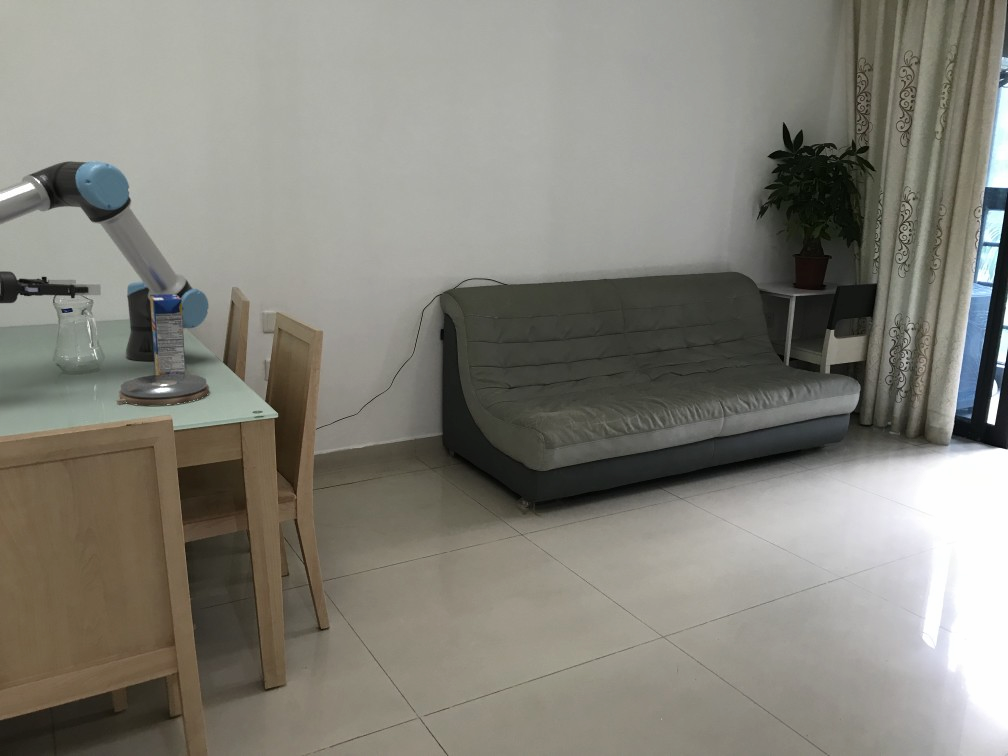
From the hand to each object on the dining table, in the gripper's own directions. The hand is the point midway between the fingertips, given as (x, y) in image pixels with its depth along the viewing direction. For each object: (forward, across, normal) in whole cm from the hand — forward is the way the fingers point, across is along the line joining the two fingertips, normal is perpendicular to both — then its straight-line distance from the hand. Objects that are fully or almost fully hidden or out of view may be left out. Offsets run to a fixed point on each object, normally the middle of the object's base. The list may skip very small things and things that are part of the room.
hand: (87, 287), depth 207 cm
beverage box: (+21, +2, -25) cm, 33 cm away
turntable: (+9, +21, -24) cm, 33 cm away
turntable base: (+10, +21, -26) cm, 34 cm away
